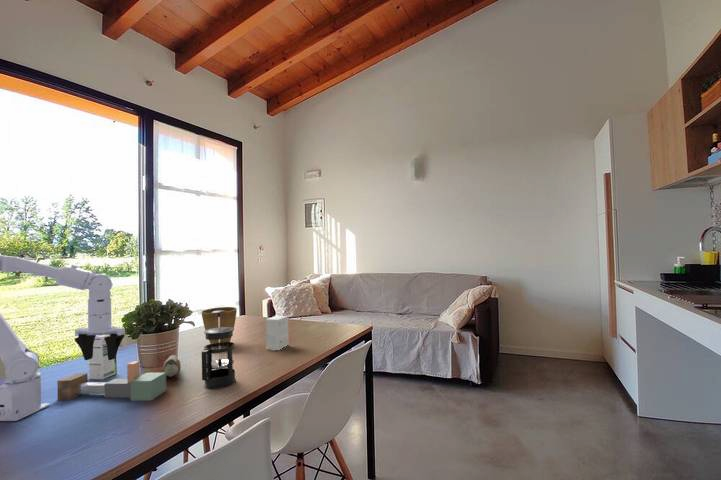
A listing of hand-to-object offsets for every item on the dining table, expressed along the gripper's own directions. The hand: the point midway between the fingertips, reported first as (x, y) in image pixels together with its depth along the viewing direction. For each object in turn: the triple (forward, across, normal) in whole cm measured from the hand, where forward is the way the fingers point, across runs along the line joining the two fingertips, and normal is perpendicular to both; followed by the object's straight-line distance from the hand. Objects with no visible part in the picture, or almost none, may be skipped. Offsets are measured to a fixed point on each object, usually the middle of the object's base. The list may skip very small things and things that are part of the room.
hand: (100, 359), depth 108 cm
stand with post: (+10, -10, +1) cm, 15 cm away
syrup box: (+11, +12, -15) cm, 22 cm away
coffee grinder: (+11, -33, -8) cm, 36 cm away
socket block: (+10, -16, +1) cm, 19 cm away
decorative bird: (+11, -13, -15) cm, 23 cm away
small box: (+11, -39, -49) cm, 64 cm away
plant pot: (+11, -11, -54) cm, 56 cm away
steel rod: (+9, 0, +1) cm, 9 cm away
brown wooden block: (+10, +8, +1) cm, 13 cm away
